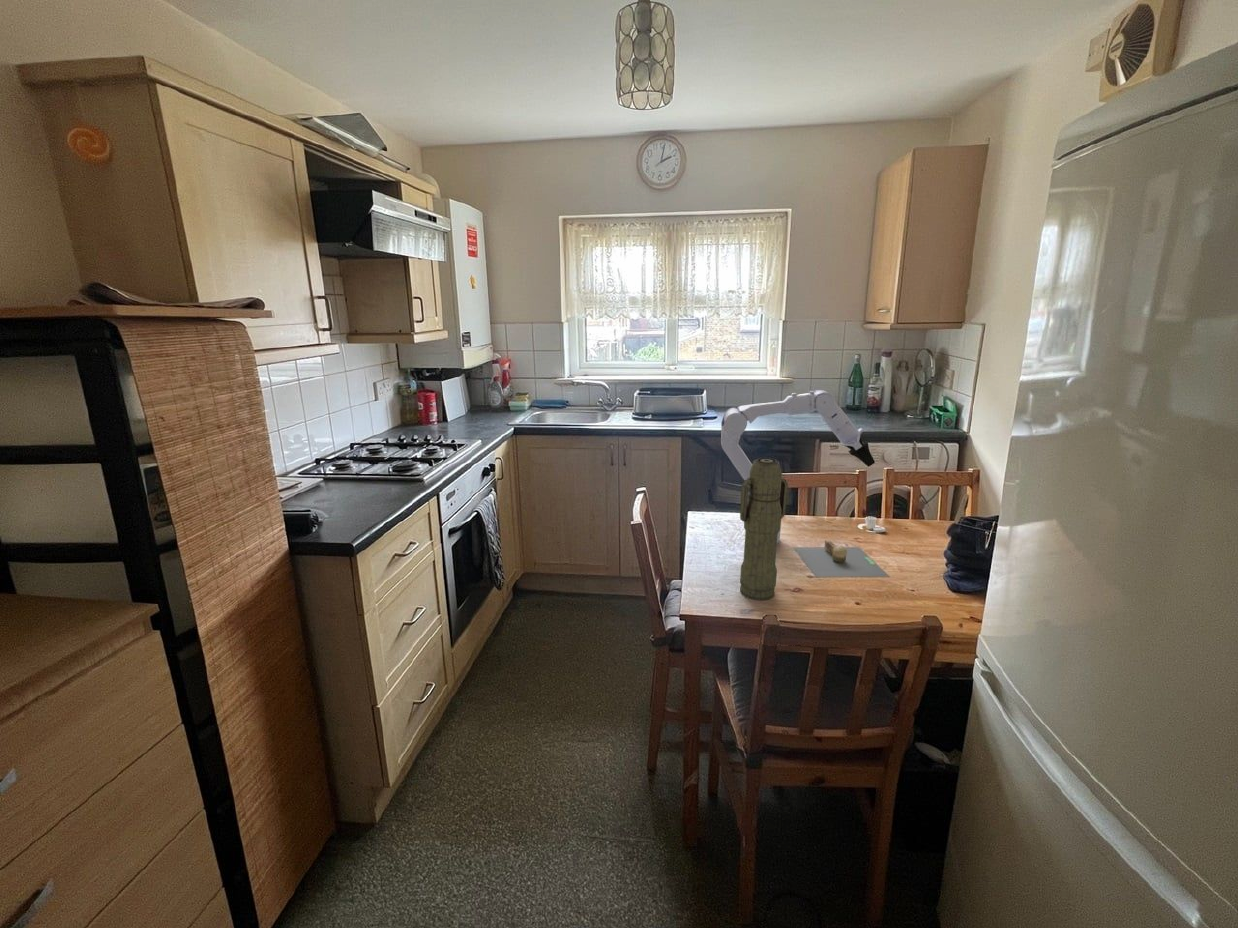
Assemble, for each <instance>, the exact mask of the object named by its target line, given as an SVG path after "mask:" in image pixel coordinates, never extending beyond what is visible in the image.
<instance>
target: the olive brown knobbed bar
mask: <svg viewBox="0 0 1238 928" xmlns="http://www.w3.org/2000/svg"><path fill="white" fill-rule="evenodd" d="M823 547H824V549H825V550H827V551H828V552H829V553H830V554H831V555H832V559H833V560H834V561H836V562H845V561H846V554H847V550H846V549H844V548H841V547H842V546H837V545H835V544H834V543H833V542H832V541H831V540H829V539H826V540H824V546H823Z"/></svg>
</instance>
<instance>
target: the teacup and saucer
mask: <svg viewBox="0 0 1238 928" xmlns="http://www.w3.org/2000/svg"><path fill="white" fill-rule="evenodd" d="M877 521H878V520H877V517H875V516H872V515H871V516H869V515H868V516H866V517H865V516H864V522H865V523H860V524H858V525H857V528H858V529H859V530H864V528H863V527H865V526H866V530H865V531H866V532H868V533H873V534H874V533H875V534H876V533H885V532H886V528H885V527H883V526H879V525H877ZM867 529H868V530H867ZM871 530H872V531H871Z"/></svg>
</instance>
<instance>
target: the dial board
mask: <svg viewBox="0 0 1238 928" xmlns="http://www.w3.org/2000/svg"><path fill="white" fill-rule="evenodd" d="M840 547H841V548H844V549H846V550H847V554H846V561H845V562H836V561H834V560H833V559H832V555H831V554H830V553H829V552H828V551H827V550H825V549H824V546H793V547H792V548H793V550H794V551H795V553H797V556H799V557H800V559H801V560H802V561H803V563H804V564H805V565H806V567H807V568H808V569H809V571H810V572H811V573H812V574H813V575H814V577H815V578H890V577H891V576H890V575H889V574H888V573H887V572H886V571H884V569H883V568H882V567H881V566H880V565H878V564H877V563H876V562H875V561H874V560H873V559H872V558H871V557H870V555H868V554H867V553H866V552H865V551H864V550H863V549H862V548H861V547H859V546H840Z"/></svg>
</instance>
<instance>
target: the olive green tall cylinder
mask: <svg viewBox="0 0 1238 928" xmlns="http://www.w3.org/2000/svg"><path fill="white" fill-rule="evenodd" d="M751 464H752V467H751V469H750V478H748V479H747V480H745V481H743V483H741V488H740V489H741V493H740V508H739V511H740V512H739V518H740V519H739V520H740V521H741V522H743V528H744V531H745V532H744V533H745V534H744V549H743V561H742V563H741V565H740V574H739V575H740V576H739V577H740V578H739V579H740V580H739V583H740V587H739V589H740V590H739V592H740V593H741V595H742V596H744V597H745V598H748V599H751V600H754V601H767V600H771V599H773V598H774V596H775V588H776V586H777V577H778V574H777V573H778V570H777V569H778V568H777V566H776V563H777V562H776V559H777V547H778V543H777V537H778V532H779V531H780V524H781V525H782V519H783V517H785V516H786V513H787V511H786V510H787V501H788V500H787V498H788V488H789V487H788V486H789V485H788V482H787V480H786V479H785V478H784V477H783V473H782V467H781V464H780V461H778V460H777V459H775V458H771V457H760V458H758V457H757V459H754V460H753V461H752V463H751ZM781 518H782V519H781ZM780 532H781V531H780Z"/></svg>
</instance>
